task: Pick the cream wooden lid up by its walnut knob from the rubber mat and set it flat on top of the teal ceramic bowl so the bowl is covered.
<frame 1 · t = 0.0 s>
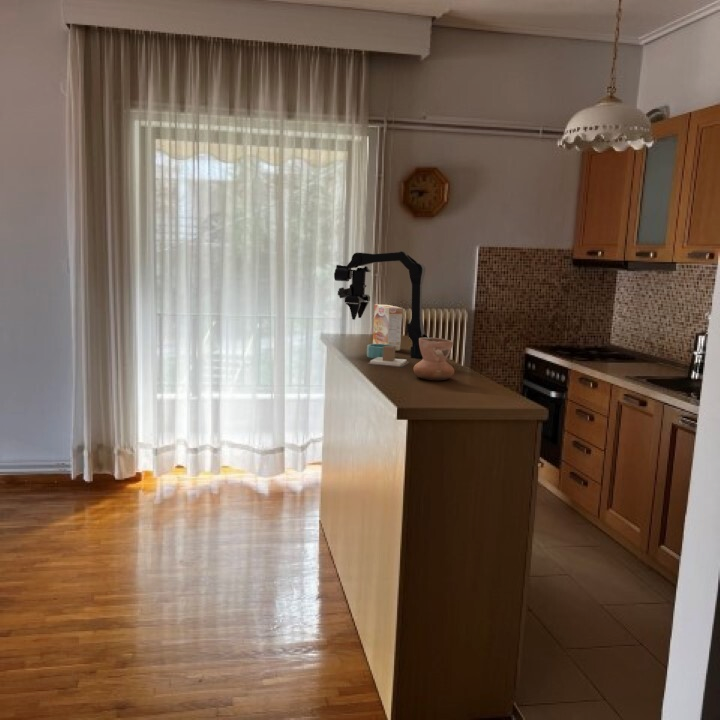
hand: (356, 318, 304), 15 cm above the table, fingers open, 9 cm apart
lid: (388, 362, 280), resting on mat
bowl: (380, 357, 295), on the table
mat: (388, 363, 280), on the table
ceramic jug: (432, 379, 252), on the table
coffeecake box: (386, 348, 325), on the table
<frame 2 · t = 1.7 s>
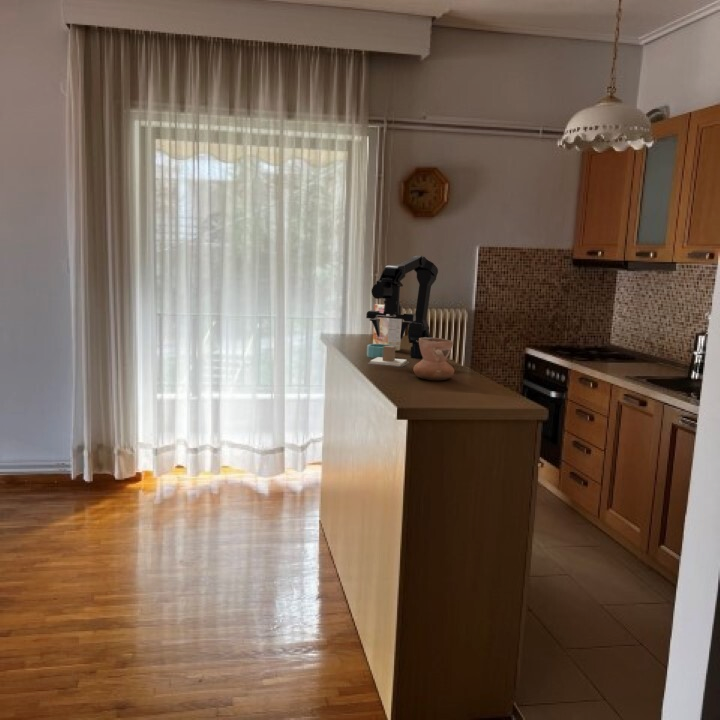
hand: (389, 337, 278), 10 cm above the table, fingers open, 9 cm apart
nothing on the table moved.
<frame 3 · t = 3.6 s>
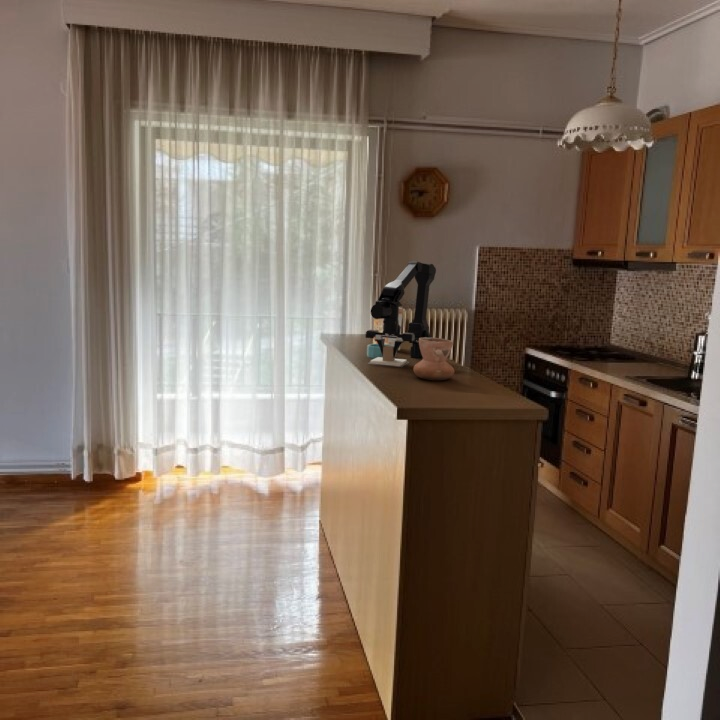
hand: (388, 357, 279), 3 cm above the table, fingers closed on lid, 4 cm apart
lid: (388, 362, 280), resting on mat, touching gripper
everything else where it was.
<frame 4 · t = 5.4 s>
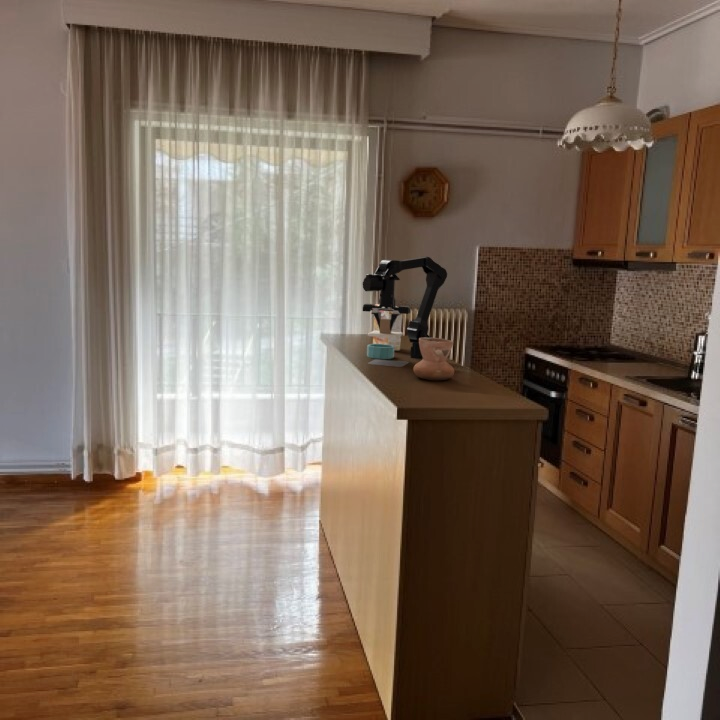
hand: (385, 330, 287), 12 cm above the table, fingers closed on lid, 4 cm apart
lid: (385, 335, 287), point 10 cm above the table, touching gripper
everything else where it was.
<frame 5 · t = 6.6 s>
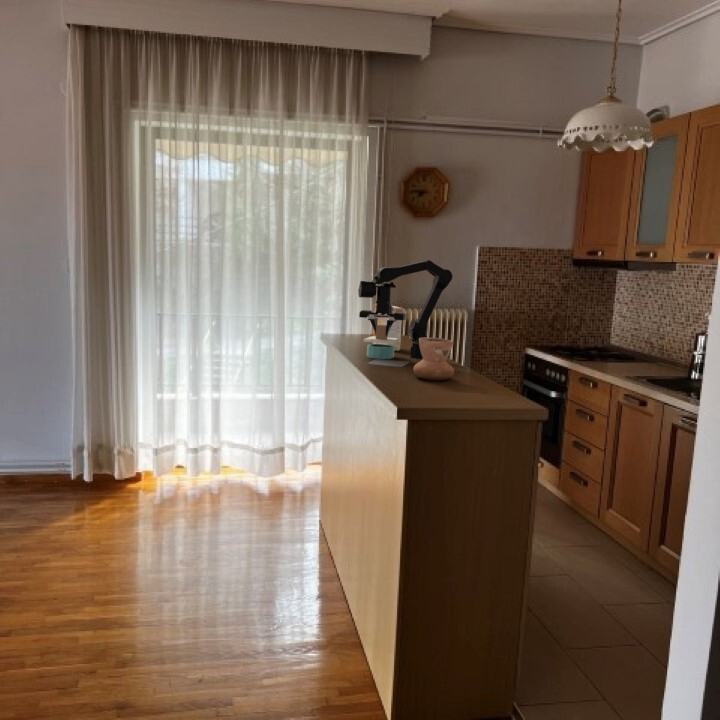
hand: (381, 335, 294), 9 cm above the table, fingers closed on lid, 4 cm apart
lid: (381, 341, 294), point 7 cm above the table, touching gripper
everything else where it was.
when the fingers open (8 cm above the table, at t = 7.5 s): lid drops 1 cm, resting on bowl.
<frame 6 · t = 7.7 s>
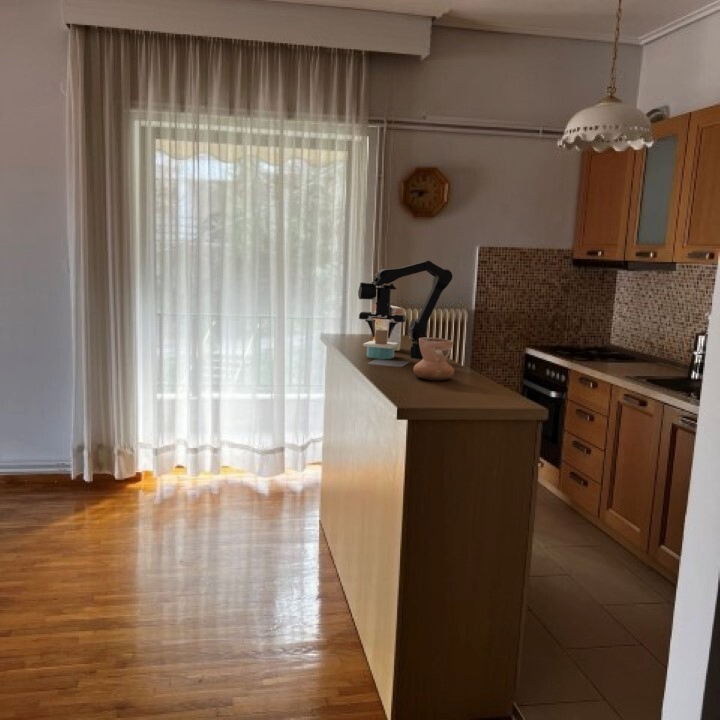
hand: (381, 337, 294), 8 cm above the table, fingers open, 6 cm apart
lid: (380, 345, 294), point 5 cm above the table, touching bowl
everything else where it was.
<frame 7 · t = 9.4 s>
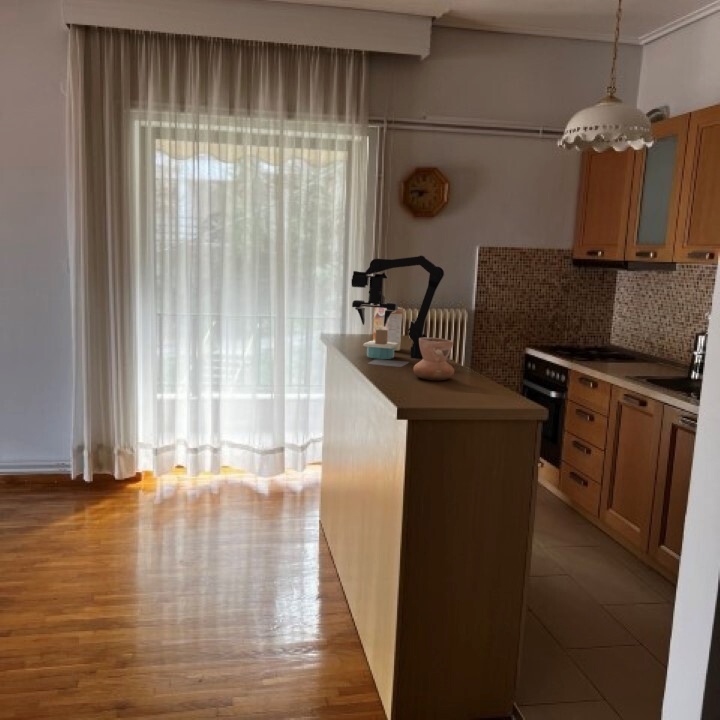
hand: (374, 325, 300), 13 cm above the table, fingers open, 9 cm apart
nothing on the table moved.
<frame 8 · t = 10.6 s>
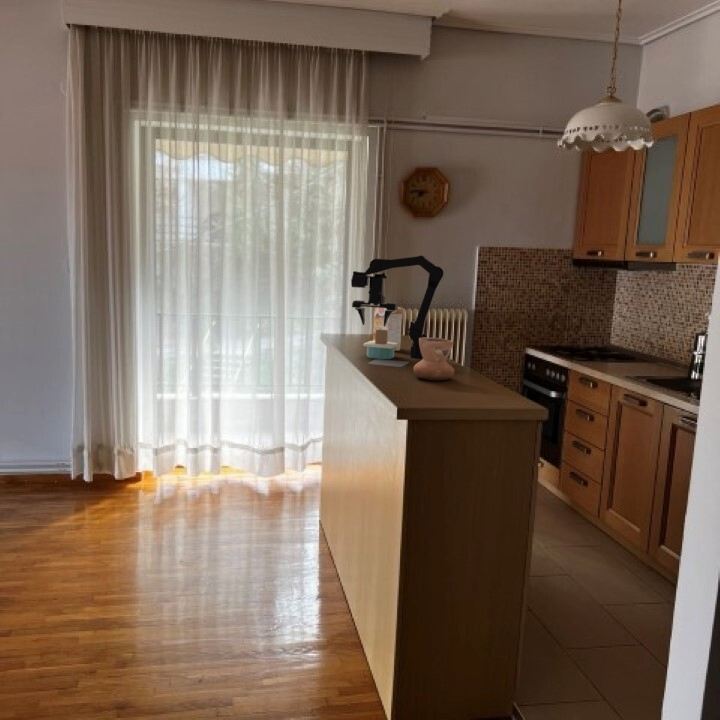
hand: (374, 325, 300), 12 cm above the table, fingers open, 9 cm apart
nothing on the table moved.
at the end: lid 0.0 cm off-centre on the bowl, point 5.0 cm above the bowl's base; lid tilted 0°; the gripper is holding nothing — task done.
